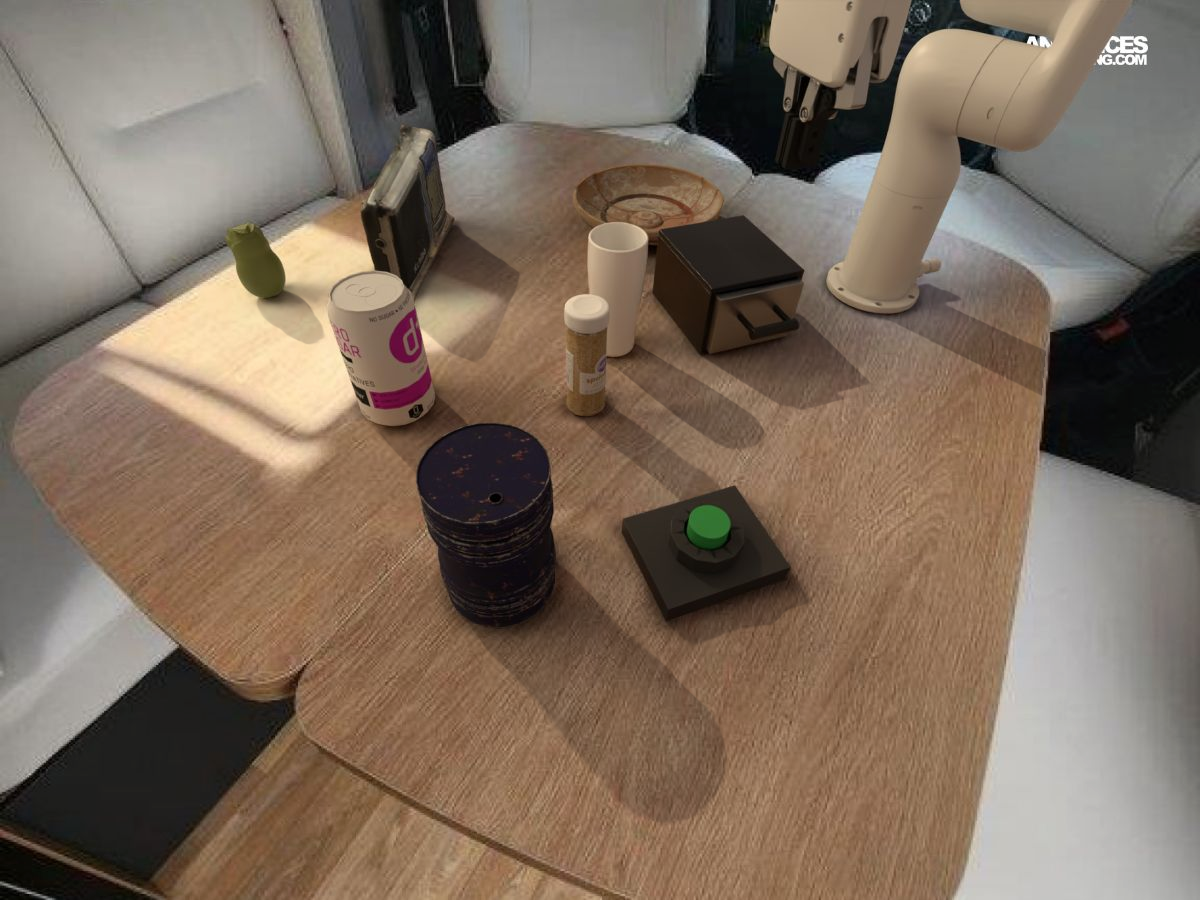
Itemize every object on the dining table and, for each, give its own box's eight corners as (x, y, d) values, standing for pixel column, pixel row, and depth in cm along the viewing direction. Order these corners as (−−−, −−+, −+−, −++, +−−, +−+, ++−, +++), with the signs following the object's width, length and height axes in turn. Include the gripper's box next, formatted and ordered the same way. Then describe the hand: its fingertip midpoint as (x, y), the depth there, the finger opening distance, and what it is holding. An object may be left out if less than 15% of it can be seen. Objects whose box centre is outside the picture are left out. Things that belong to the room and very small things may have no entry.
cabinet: (785, 335, 82) (805, 270, 75) (700, 355, 79) (712, 288, 72) (730, 277, 91) (743, 214, 84) (652, 293, 88) (658, 229, 81)
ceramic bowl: (625, 179, 113) (627, 150, 109) (743, 218, 104) (749, 189, 100) (544, 228, 100) (542, 198, 96) (670, 278, 91) (674, 247, 87)
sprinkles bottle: (598, 421, 70) (602, 322, 60) (560, 412, 71) (557, 313, 61) (610, 395, 73) (615, 297, 63) (573, 387, 74) (573, 288, 64)
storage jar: (434, 552, 58) (401, 441, 47) (535, 520, 61) (526, 407, 50) (462, 646, 52) (432, 543, 41) (573, 605, 55) (572, 499, 44)
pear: (256, 310, 83) (225, 240, 75) (241, 292, 85) (210, 223, 78) (298, 295, 85) (271, 226, 78) (282, 278, 88) (255, 210, 81)
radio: (410, 306, 84) (384, 198, 73) (350, 298, 85) (316, 190, 74) (468, 224, 100) (454, 125, 89) (416, 218, 101) (397, 119, 90)
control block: (731, 498, 63) (738, 472, 60) (785, 580, 57) (796, 555, 54) (621, 532, 60) (623, 506, 57) (665, 622, 54) (670, 598, 51)
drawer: (807, 355, 78) (825, 302, 72) (726, 375, 75) (739, 321, 69) (736, 281, 89) (747, 229, 83) (663, 295, 86) (669, 243, 80)
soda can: (448, 390, 73) (426, 276, 62) (412, 437, 68) (379, 323, 57) (388, 374, 75) (355, 261, 64) (347, 419, 69) (303, 304, 58)
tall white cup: (634, 366, 77) (644, 255, 66) (581, 358, 78) (581, 247, 67) (643, 334, 81) (653, 225, 70) (592, 326, 82) (594, 218, 71)
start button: (715, 512, 57) (718, 500, 56) (734, 543, 55) (738, 531, 54) (679, 523, 56) (682, 511, 55) (698, 555, 54) (701, 543, 53)
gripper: (1001, -111, 36) (887, 196, 50) (846, -137, 46) (785, 128, 59) (897, -110, 34) (807, 210, 48) (757, -137, 44) (715, 137, 57)
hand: (795, 164), depth 54 cm, fingers closed
